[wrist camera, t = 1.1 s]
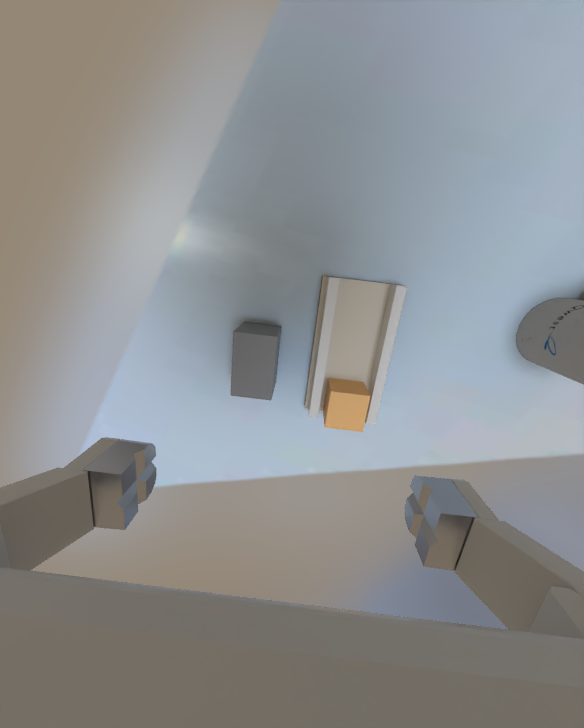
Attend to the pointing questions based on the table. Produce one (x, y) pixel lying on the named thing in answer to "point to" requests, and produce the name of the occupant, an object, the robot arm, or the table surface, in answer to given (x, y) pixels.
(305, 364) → the table surface
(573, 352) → the mug
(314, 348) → the rail
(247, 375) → the block
